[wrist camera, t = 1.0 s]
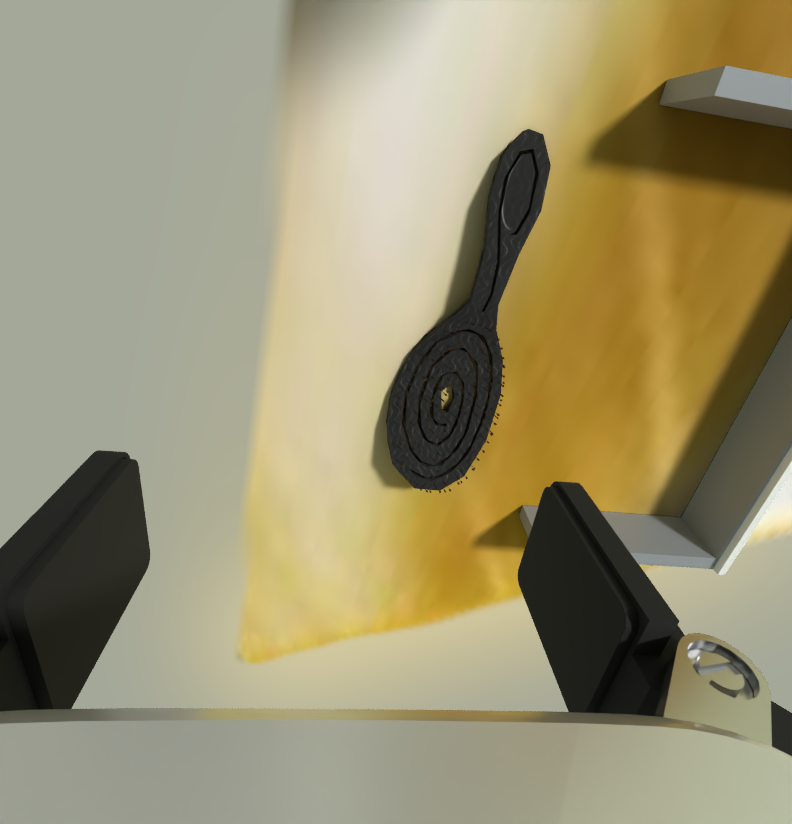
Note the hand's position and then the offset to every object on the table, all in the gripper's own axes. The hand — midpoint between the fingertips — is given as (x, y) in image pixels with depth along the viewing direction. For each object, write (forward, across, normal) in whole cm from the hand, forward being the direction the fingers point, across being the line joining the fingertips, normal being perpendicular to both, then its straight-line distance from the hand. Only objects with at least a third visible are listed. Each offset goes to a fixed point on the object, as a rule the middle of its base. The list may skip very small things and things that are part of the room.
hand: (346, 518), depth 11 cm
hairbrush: (+24, -8, +2) cm, 25 cm away
